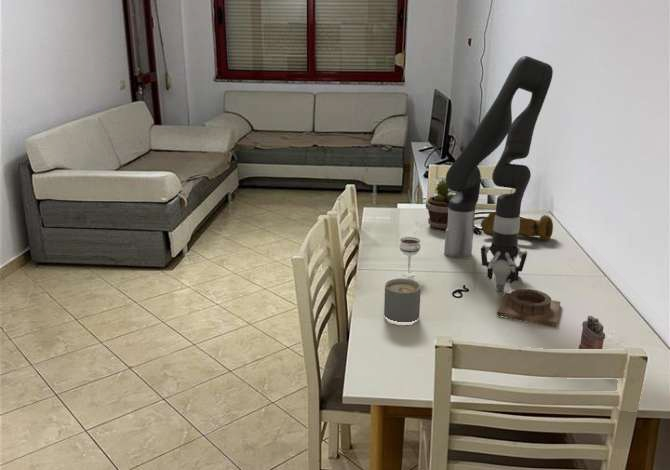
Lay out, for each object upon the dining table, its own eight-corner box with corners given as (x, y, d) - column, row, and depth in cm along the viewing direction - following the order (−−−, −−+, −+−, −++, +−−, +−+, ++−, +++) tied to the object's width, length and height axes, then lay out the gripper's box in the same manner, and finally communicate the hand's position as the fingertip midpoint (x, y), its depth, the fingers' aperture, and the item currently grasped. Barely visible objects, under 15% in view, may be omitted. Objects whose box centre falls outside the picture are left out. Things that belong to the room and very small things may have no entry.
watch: (518, 273, 198) (522, 242, 194) (517, 283, 191) (520, 251, 187) (501, 271, 200) (504, 240, 196) (499, 280, 192) (502, 249, 189)
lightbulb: (510, 295, 182) (514, 262, 178) (490, 294, 183) (493, 260, 179) (509, 287, 187) (512, 255, 184) (489, 285, 189) (492, 253, 185)
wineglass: (423, 274, 198) (424, 240, 194) (410, 280, 193) (412, 245, 189) (406, 268, 202) (407, 235, 198) (394, 274, 197) (395, 240, 193)
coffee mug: (418, 327, 163) (420, 294, 160) (382, 324, 164) (383, 291, 161) (419, 305, 175) (421, 274, 172) (386, 303, 177) (387, 272, 174)
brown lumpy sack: (575, 347, 153) (580, 312, 149) (588, 346, 153) (593, 311, 150) (590, 364, 145) (596, 327, 142) (604, 363, 145) (610, 327, 142)
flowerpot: (464, 232, 237) (468, 184, 230) (426, 232, 237) (428, 184, 230) (458, 221, 251) (461, 175, 244) (421, 221, 251) (424, 175, 244)
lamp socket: (496, 316, 169) (497, 302, 167) (504, 296, 181) (505, 283, 179) (555, 327, 163) (557, 312, 161) (559, 306, 175) (561, 292, 173)
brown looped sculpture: (501, 207, 244) (555, 208, 230) (499, 238, 244) (553, 241, 230) (481, 203, 230) (537, 204, 216) (479, 236, 230) (535, 239, 216)
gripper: (479, 229, 178) (475, 281, 183) (529, 236, 172) (523, 289, 178) (484, 222, 184) (480, 272, 190) (532, 228, 179) (526, 279, 184)
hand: (501, 280), depth 184 cm, fingers closed on lightbulb, 5 cm apart
